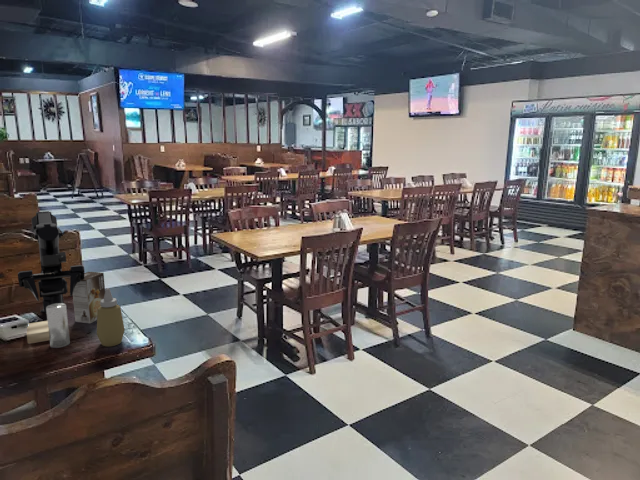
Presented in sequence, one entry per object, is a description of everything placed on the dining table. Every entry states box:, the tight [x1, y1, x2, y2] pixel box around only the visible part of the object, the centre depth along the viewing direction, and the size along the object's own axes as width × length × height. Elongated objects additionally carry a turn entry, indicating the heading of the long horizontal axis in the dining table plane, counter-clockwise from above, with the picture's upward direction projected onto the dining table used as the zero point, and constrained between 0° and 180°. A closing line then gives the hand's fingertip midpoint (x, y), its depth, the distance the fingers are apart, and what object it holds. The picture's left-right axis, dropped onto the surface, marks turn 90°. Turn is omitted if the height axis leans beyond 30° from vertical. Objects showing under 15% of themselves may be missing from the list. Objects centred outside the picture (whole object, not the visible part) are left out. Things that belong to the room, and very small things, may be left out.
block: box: [26, 320, 50, 344], centre depth 150 cm, size 10×10×3 cm
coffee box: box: [72, 271, 106, 324], centre depth 163 cm, size 9×6×16 cm
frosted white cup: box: [45, 303, 71, 349], centre depth 143 cm, size 5×5×12 cm
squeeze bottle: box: [96, 287, 125, 347], centre depth 144 cm, size 8×8×18 cm
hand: (54, 298), depth 148 cm, fingers open, 9 cm apart
